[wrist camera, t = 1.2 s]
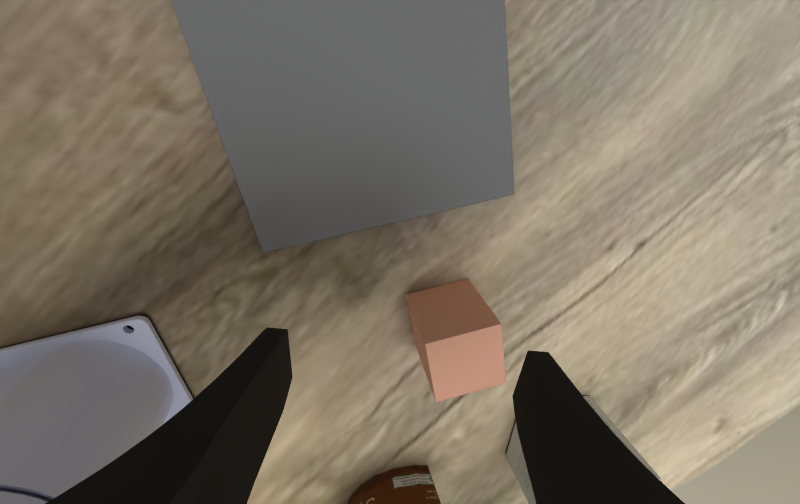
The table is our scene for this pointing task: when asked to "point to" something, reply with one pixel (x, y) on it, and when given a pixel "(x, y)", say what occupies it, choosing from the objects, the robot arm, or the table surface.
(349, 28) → the mat
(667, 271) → the table surface
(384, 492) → the food container
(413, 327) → the block
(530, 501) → the product box
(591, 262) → the table surface
